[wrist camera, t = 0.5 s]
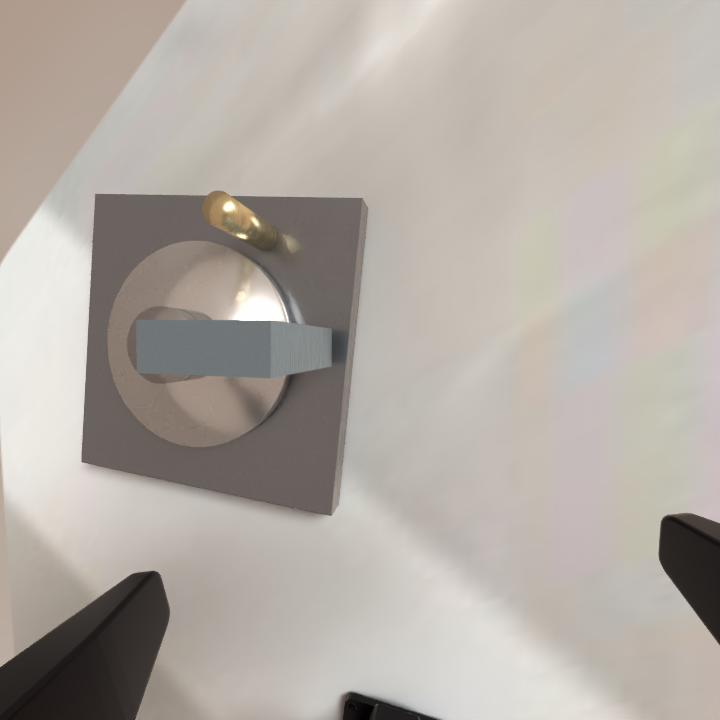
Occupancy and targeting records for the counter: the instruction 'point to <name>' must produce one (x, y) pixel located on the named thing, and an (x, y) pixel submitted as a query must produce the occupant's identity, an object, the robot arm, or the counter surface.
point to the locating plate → (307, 307)
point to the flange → (206, 344)
